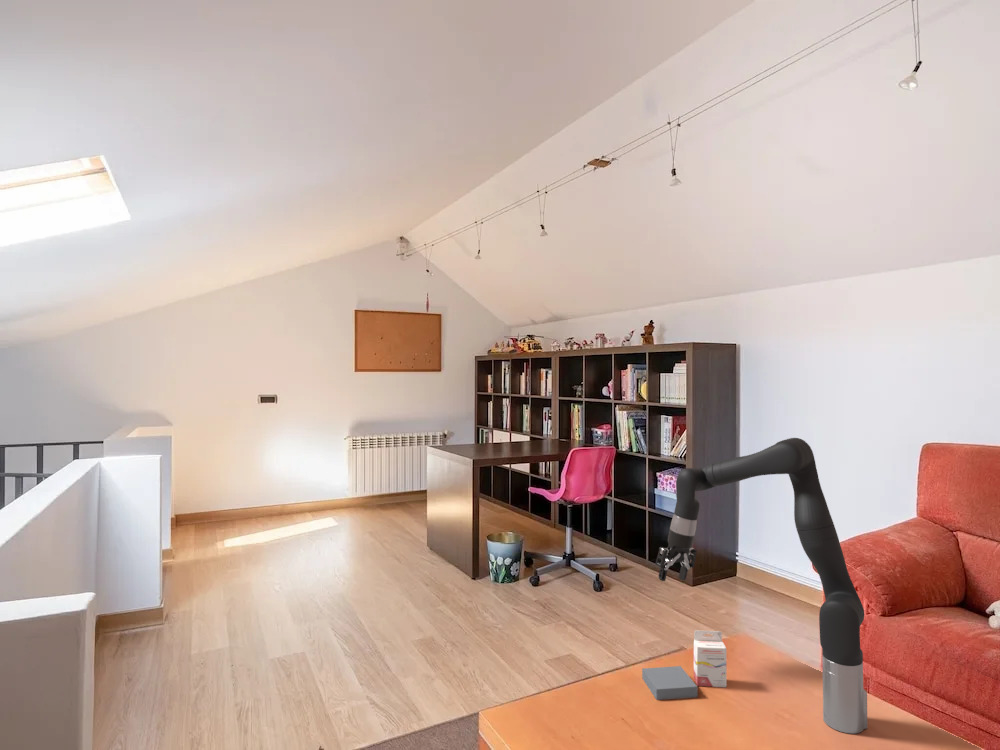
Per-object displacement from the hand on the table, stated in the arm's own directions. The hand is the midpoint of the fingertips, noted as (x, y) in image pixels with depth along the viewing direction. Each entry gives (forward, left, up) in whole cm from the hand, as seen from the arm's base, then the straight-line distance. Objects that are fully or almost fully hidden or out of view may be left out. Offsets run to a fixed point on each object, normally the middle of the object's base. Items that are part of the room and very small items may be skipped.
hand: (671, 579), depth 189 cm
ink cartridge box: (-7, +12, -27) cm, 30 cm away
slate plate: (+6, +13, -27) cm, 30 cm away
